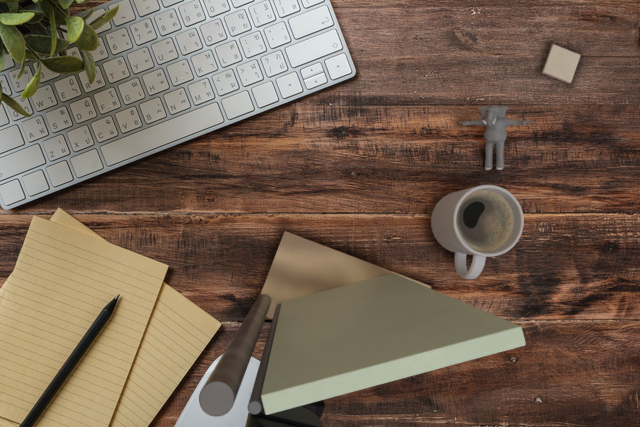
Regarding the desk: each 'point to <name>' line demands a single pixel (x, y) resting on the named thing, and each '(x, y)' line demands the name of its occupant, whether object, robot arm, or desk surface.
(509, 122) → the elephant figurine
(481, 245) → the mug
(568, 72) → the coaster
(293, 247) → the door stand
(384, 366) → the door
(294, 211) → the desk surface
